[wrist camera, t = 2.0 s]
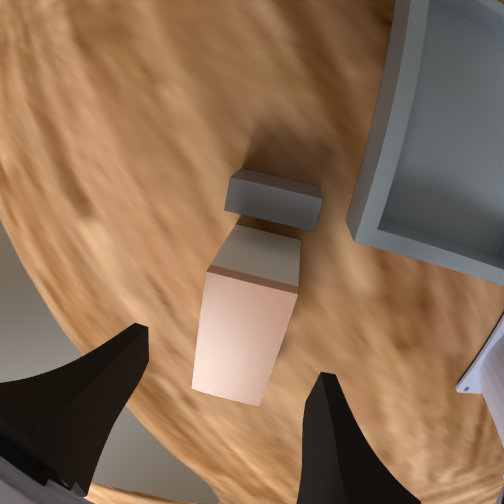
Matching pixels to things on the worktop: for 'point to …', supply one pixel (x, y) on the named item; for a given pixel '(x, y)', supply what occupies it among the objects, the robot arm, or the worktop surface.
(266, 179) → the grey blocks
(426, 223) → the tray
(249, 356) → the pink and gray block
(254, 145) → the worktop surface
